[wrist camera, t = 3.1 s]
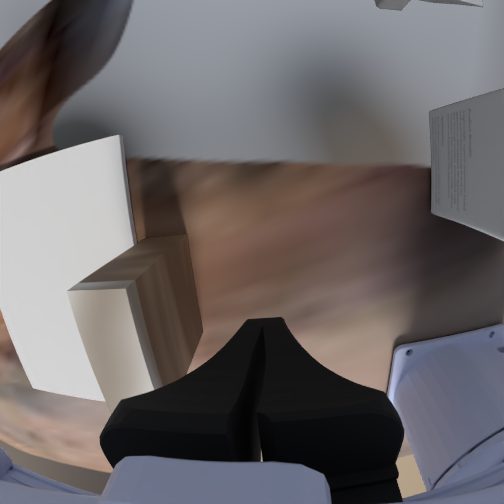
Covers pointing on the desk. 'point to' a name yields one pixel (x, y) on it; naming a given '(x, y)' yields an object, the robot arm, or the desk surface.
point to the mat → (60, 254)
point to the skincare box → (469, 162)
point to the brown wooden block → (139, 318)
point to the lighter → (400, 0)
